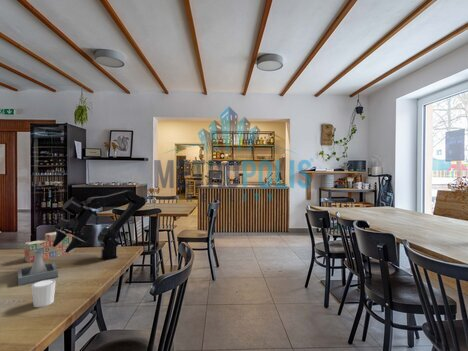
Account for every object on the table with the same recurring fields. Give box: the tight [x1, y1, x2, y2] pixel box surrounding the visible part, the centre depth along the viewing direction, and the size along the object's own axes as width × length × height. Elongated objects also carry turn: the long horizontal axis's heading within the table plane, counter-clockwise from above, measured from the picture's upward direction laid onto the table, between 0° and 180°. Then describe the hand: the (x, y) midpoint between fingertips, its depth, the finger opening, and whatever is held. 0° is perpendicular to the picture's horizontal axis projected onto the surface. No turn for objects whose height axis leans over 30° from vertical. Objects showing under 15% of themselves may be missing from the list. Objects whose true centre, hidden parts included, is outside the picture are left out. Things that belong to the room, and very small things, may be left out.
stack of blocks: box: [24, 231, 75, 263], centre depth 140 cm, size 21×6×12 cm, turn 145°
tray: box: [17, 261, 59, 287], centre depth 112 cm, size 13×13×3 cm
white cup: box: [31, 278, 56, 308], centre depth 90 cm, size 7×7×7 cm
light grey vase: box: [29, 251, 48, 275], centre depth 112 cm, size 7×7×10 cm
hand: (59, 249), depth 119 cm, fingers open, 9 cm apart
